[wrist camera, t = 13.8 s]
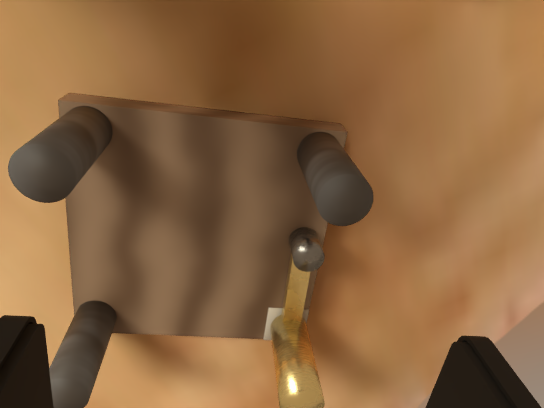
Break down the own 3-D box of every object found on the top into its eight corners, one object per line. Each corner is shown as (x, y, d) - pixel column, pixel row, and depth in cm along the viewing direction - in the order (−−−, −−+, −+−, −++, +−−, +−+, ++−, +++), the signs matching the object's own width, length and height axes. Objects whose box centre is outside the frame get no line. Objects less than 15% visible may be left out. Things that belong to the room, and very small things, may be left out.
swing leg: (285, 226, 38) (300, 289, 30) (325, 228, 38) (351, 291, 30) (268, 340, 43) (277, 420, 35) (303, 341, 44) (320, 420, 36)
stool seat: (83, 313, 43) (38, 414, 33) (69, 92, 34) (0, 137, 24) (298, 323, 46) (318, 418, 36) (340, 123, 37) (383, 174, 27)
